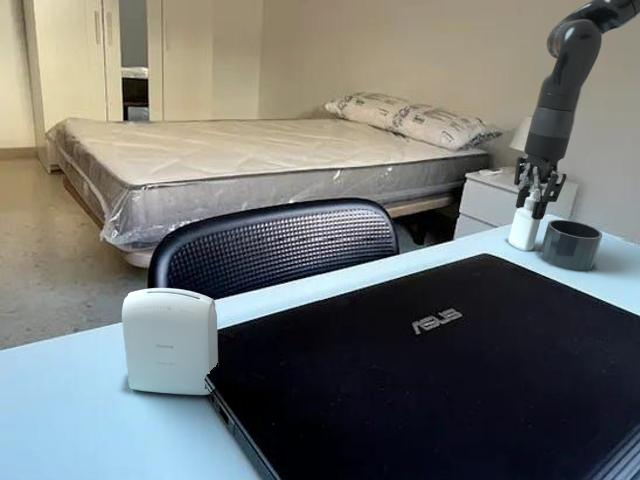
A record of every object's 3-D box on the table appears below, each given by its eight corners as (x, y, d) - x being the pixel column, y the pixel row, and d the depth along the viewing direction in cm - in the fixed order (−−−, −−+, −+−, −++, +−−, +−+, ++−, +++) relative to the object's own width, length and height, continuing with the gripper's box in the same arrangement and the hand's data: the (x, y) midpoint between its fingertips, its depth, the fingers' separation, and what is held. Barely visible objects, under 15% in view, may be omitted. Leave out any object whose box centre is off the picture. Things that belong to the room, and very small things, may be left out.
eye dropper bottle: (511, 250, 104) (525, 195, 99) (507, 239, 109) (520, 187, 104) (533, 253, 103) (548, 198, 99) (527, 242, 108) (541, 189, 104)
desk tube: (571, 250, 106) (581, 220, 103) (602, 271, 97) (613, 239, 95) (529, 250, 104) (538, 219, 102) (557, 272, 96) (567, 238, 93)
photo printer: (122, 392, 56) (113, 297, 51) (136, 368, 60) (129, 277, 55) (213, 400, 56) (212, 305, 51) (221, 376, 60) (221, 285, 55)
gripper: (591, 140, 91) (565, 226, 97) (546, 125, 104) (526, 202, 110) (553, 139, 89) (530, 226, 96) (513, 123, 102) (495, 201, 109)
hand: (528, 213), depth 103 cm, fingers closed on eye dropper bottle, 5 cm apart
